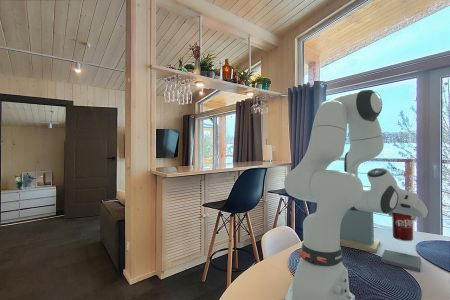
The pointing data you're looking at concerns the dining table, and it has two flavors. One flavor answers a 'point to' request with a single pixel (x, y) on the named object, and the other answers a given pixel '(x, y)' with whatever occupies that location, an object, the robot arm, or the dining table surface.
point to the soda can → (402, 227)
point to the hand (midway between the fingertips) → (402, 217)
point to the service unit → (358, 231)
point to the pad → (401, 260)
